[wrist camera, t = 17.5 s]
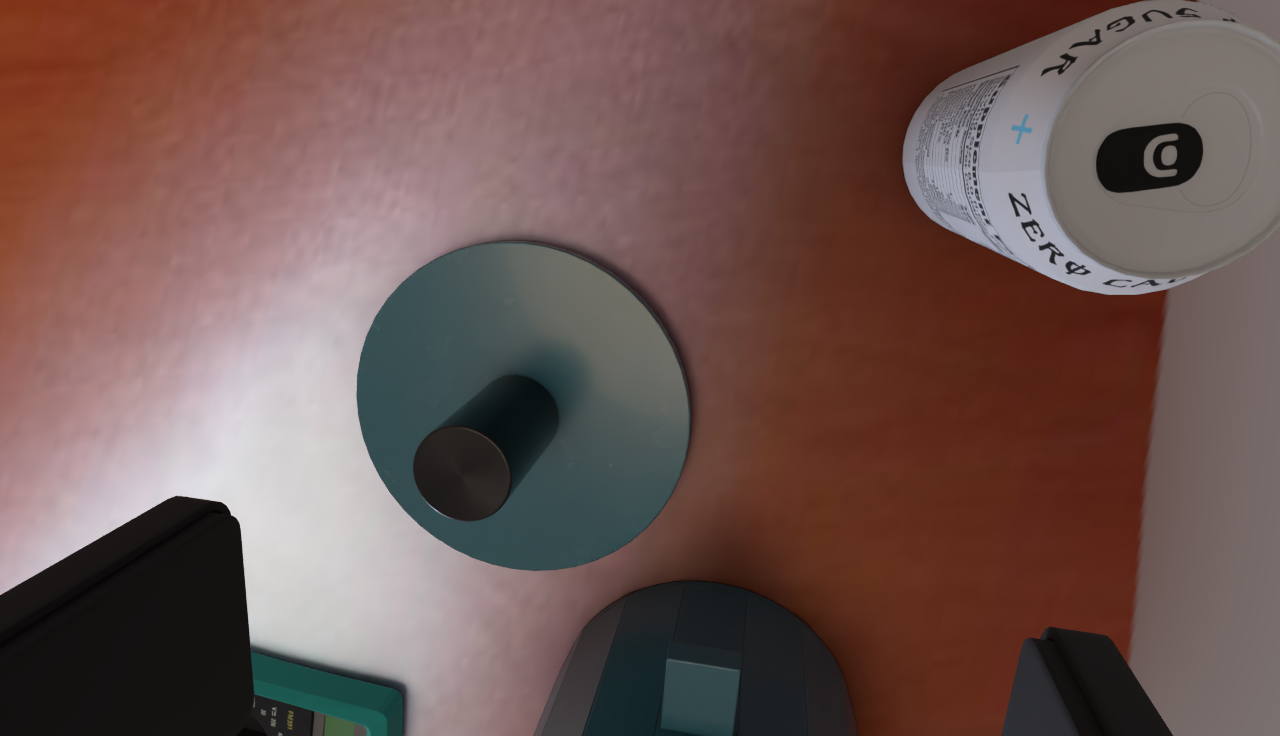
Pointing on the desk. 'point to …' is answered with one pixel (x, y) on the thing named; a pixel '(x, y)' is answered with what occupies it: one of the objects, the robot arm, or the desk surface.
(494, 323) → the pot lid
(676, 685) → the pot
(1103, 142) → the energy drink can
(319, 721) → the digital multimeter
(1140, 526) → the desk surface
